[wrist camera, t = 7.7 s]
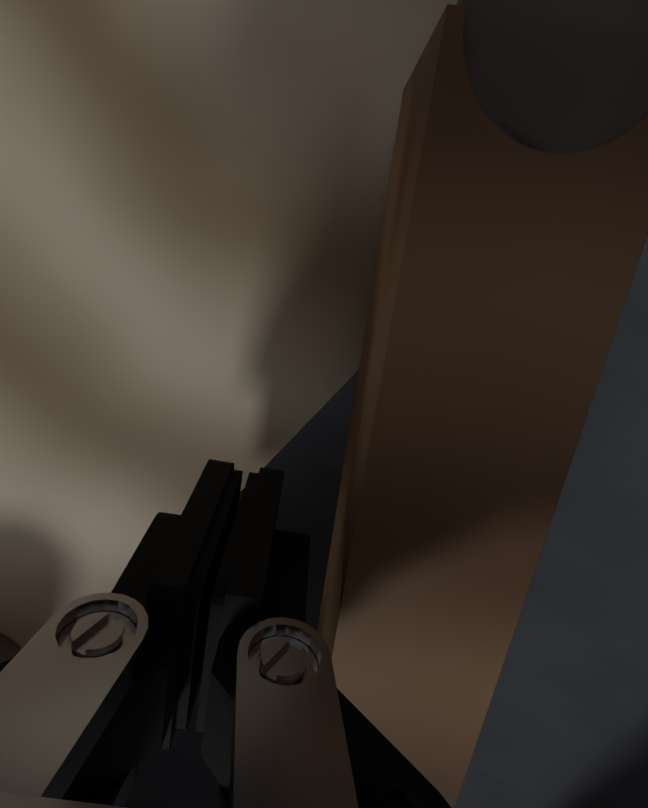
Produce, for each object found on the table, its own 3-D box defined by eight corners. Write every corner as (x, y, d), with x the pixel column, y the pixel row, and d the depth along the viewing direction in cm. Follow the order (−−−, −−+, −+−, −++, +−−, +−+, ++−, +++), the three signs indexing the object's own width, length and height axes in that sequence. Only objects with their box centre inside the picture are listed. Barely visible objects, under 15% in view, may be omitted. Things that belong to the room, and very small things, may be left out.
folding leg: (416, 4, 9) (474, -152, 5) (583, 29, 9) (762, -107, 5) (312, 658, 14) (303, 817, 10) (417, 671, 14) (446, 833, 10)
